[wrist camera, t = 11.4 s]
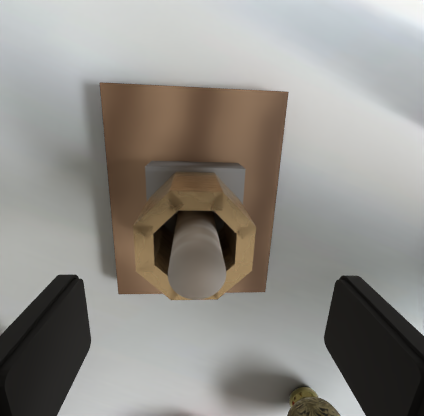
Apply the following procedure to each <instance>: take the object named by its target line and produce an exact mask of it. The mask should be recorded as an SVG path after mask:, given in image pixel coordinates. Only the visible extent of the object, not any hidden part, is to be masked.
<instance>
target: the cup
mask: <svg viewBox="0 0 424 416" xmlns="http://www.w3.org/2000/svg"><path fill="white" fill-rule="evenodd" d="M289 404H290V407H291V408H290V410H289V412H288V415H287V416H340V414H339V413H338V412H337V410H336V409H335V408H334V407H333V406H332V405H331V404H330V403H328V402H327V401H325V400H323V399H321V398H318V395H317V394H316V392H315V391H314V390H312V389H311V388H309V387H300V388H297V389H295V390H294V391H293V392H292V393H291V395H290V398H289Z"/></svg>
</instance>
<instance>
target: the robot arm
mask: <svg viewBox="0 0 424 416" xmlns="http://www.w3.org/2000/svg"><path fill="white" fill-rule="evenodd" d="M324 341H325V345H326V347H327V349H328V351H329V353H330V354H331V356H332V358H333V360H334V361H335V363H336V365H337V366H338V368H339V370H340V372H341V373H342V375H343V377H344V379H345V380H346V382H347V384H348V385H349V387H350V389H351V391H352V392H353V394H354V396H355V398H356V399H357V401H358V403H359V404H360V406H361V408H362V410H363V411H364V413H365V415H366V416H424V336H423V335H422V334H421V333H420V332H419V331H418V330H417V329H415V328H414V327H413V326H412V325H411V324H410V323H409V322H408V321H407V320H406V319H405V318H404V317H403V316H402V315H400V314H399V313H398V312H397V311H396V310H395V309H394V308H393V307H392V306H391V305H390V304H389V303H388V302H387V301H385V300H384V299H383V298H382V297H381V296H380V295H379V294H378V293H377V292H376V291H375V290H374V289H373V288H371V287H370V286H369V285H368V284H367V283H366V282H365V281H364V280H363V279H362V278H361V277H359V276H341V277H340V279H339V280H337V281H336V283H335V287H334V292H333V297H332V301H331V306H330V311H329V316H328V321H327V325H326V330H325V335H324ZM90 344H91V335H90V328H89V320H88V312H87V305H86V297H85V290H84V283H83V280H82V279H79V278H78V276H77V275H58V276H57V277H56V278H55V279H54V280H53V281H52V282H51V283H50V284H49V285H48V286H47V287H46V288H45V289H44V290H43V291H42V292H41V293H40V294H39V296H38V297H37V298H36V299H35V300H34V301H33V302H32V303H31V304H30V305H29V306H28V307H27V308H26V309H25V310H24V311H23V312H22V313H21V315H20V316H19V317H18V318H17V319H16V320H15V321H14V322H13V323H12V324H11V325H10V326H9V327H8V328H7V329H6V330H5V331H4V333H3V334H2V335H1V336H0V416H57V414H58V412H59V410H60V408H61V406H62V404H63V402H64V400H65V398H66V396H67V394H68V392H69V390H70V388H71V386H72V384H73V381H74V379H75V377H76V375H77V373H78V371H79V369H80V367H81V365H82V363H83V361H84V359H85V357H86V355H87V353H88V351H89V348H90Z"/></svg>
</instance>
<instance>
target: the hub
mask: <svg viewBox="0 0 424 416" xmlns="http://www.w3.org/2000/svg"><path fill="white" fill-rule="evenodd" d="M178 210H183V211H214V212H215V213H216V214H217V215H218V216H219V217H220V218H221V219H222V220H223V221H224V226H223V228H222V229H220V230H219V231H218V232H217V233H218V237H219V241H220V246H221V250H222V254H223V259H224V263H225V267H226V279H225V282H224V284H223V286H222V288H221V289H220V290H219V291H218V292H217V293H215V294H214V295H212V296H210V297H208V298H205V299H199V300H206V299H218V298H220V297H221V296H222V295H223V294H224V293H226V292H227V291H228V290H229V289H230V288H232V287H233V286H234V285H235V284H236V283H238V282H239V281H240V280H241V279H243V278H244V277H245V276H246V275H247V274H249V273H250V272H251V271H252V265H253V255H254V244H255V234H256V225H255V224H254V222H253V221H252V219H251V217H250V216H249V214H248V213H247V211H246V209H245V208H244V206H243V205H242V203H241V201H240V200H239V198H237V196H236V195H235V194H234V193H233V192H232V191H231V190H230V189H229V188H228V187H227V186H226V185H225V184H224V183H223V182H222V181H221V180H220V178H219V177H218V176H217V175H216V174H215V173H207V172H175V173H174V174H173V175H172V176H171V177H170V178H169V179H168V180H167V181H166V182H165V183H164V184H163V185H162V186H161V187H160V188H159V189H158V190H157V191H156V192H155V193H154V194H153V195H152V196H151V197H150V198H149V199H148V201H147V203H146V204H145V206H144V208H143V210H142V211H141V213H140V215H139V216H138V218H137V220H136V222H135V223H134V225H133V233H134V249H135V265H136V272H137V273H138V274H140V275H141V276H142V277H143V278H144V279H146V280H147V281H148V282H149V283H151V284H152V285H153V286H154V287H156V288H157V289H158V290H159V291H161V292H162V293H163V294H164V295H166V296H167V297H168V298H169V299H170V300H193V299H188V298H185V297H182V296H180V295H179V294H177V293H176V292H175V291H174V290H173V289H172V287H171V286H170V284H169V281H168V268H169V262H170V256H171V250H172V244H173V238H174V234H173V233H171V232H170V231H169V230H168V229H167V228H166V227H165V222H166V221H167V220H168V219H169V218H171V217H172V216H173V215H174V214H175V213H176V212H177V211H178Z"/></svg>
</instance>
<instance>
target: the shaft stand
mask: <svg viewBox="0 0 424 416" xmlns="http://www.w3.org/2000/svg"><path fill="white" fill-rule="evenodd" d="M100 92H101V103H102V114H103V125H104V137H105V148H106V159H107V170H108V181H109V193H110V204H111V215H112V226H113V238H114V249H115V260H116V271H117V282H118V294H163V293H162V292H161V291H159V290H158V289H157V288H156V287H154V286H153V285H152V284H151V283H149V282H148V281H147V280H146V279H144V278H143V277H142V276H141V275H140V274H138V273H137V272H136V265H135V249H134V233H133V225H134V223H135V222H136V220H137V218H138V216H139V215H140V213H141V211H142V210H143V208H144V206H145V204H146V203H147V201H148V199H149V198H150V197H151V196H152V195H153V194H154V193H155V192H156V191H157V190H158V189H159V188H160V187H161V186H162V185H163V184H164V183H165V182H166V181H167V180H168V179H169V178H170V177H171V176H172V175H173V174H174V173H175V172H207V173H215V174H216V175H217V176H218V177H219V178H220V180H221V181H222V182H223V183H224V184H225V185H226V186H227V187H228V188H229V189H230V190H231V191H232V192H233V193H234V194H235V195H236V196H237V198H239V200H240V201H241V203H242V205H243V206H244V208H245V209H246V211H247V213H248V214H249V216H250V217H251V219H252V221H253V222H254V224H255V225H256V234H255V244H254V255H253V265H252V271H251V272H250V273H249V274H247V275H246V276H245V277H244V278H243V279H241V280H240V281H239V282H238V283H236V284H235V285H234V286H233V287H232V288H230V289H229V290H228V291H227V292H226V293H232V292H265V289H266V280H267V271H268V263H269V254H270V246H271V237H272V228H273V220H274V211H275V203H276V194H277V186H278V177H279V168H280V160H281V151H282V143H283V134H284V125H285V117H286V108H287V100H288V92H281V91H261V90H241V89H220V88H200V87H180V86H159V85H139V84H119V83H100ZM223 226H224V221H223V220H222V219H221V218H220V217H219V216H218V215H217V214H216V213H215V212H214V211H183V210H178V211H177V212H176V213H175V214H174V215H173V216H172V217H171V218H169V219H168V220H167V221H166V222H165V227H166V228H167V229H168V230H169V231H170V232H171V233H173V234H174V238H173V244H172V250H171V256H170V262H169V268H168V281H169V284H170V286H171V287H172V289H173V290H174V291H175V292H176V293H177V294H179V295H180V296H182V297H185V298H188V299H193V300H199V299H205V298H208V297H210V296H212V295H214V294H215V293H217V292H218V291H219V290H220V289H221V288H222V286H223V284H224V282H225V279H226V267H225V263H224V259H223V254H222V250H221V246H220V241H219V237H218V233H217V232H218V231H219V230H220V229H222V228H223Z"/></svg>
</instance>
